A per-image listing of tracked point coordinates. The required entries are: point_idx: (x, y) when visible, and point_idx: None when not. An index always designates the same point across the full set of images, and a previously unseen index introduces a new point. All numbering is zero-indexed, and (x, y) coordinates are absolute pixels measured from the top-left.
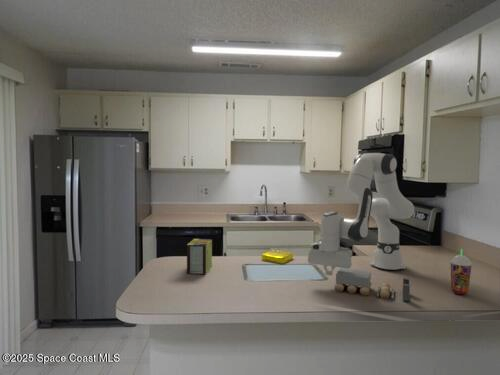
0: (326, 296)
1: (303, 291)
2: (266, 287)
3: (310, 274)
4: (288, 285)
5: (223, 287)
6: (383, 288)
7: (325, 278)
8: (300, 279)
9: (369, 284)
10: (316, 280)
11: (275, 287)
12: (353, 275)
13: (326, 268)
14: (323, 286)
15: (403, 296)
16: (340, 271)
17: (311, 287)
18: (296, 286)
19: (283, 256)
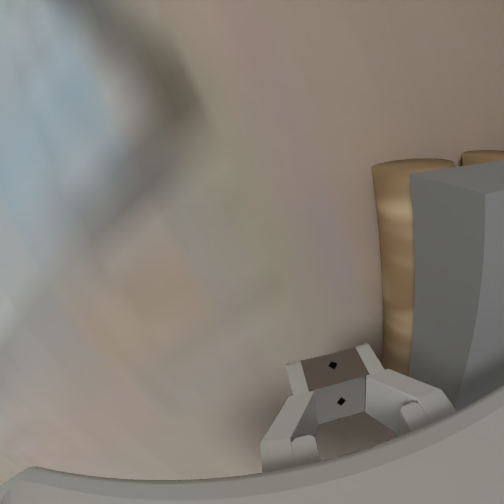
0: (342, 443)
1: (200, 457)
2: (52, 464)
3: (11, 97)
4: (76, 422)
5: (5, 480)
6: None
7: (167, 90)
8: (27, 285)
9: None
10: (124, 219)
11: (69, 457)
12: None
13: (303, 430)
14: (262, 331)
15: None
16: (482, 377)
17: (196, 396)
18: (115, 420)
19: None
